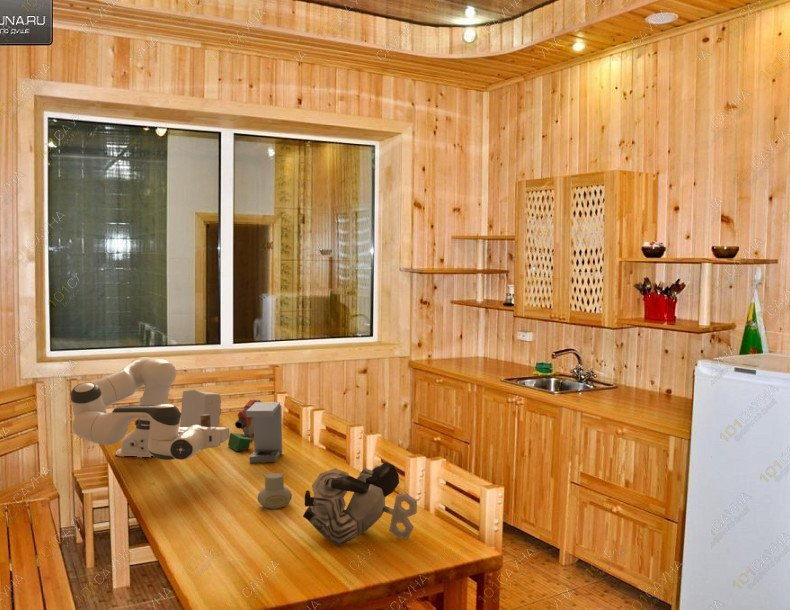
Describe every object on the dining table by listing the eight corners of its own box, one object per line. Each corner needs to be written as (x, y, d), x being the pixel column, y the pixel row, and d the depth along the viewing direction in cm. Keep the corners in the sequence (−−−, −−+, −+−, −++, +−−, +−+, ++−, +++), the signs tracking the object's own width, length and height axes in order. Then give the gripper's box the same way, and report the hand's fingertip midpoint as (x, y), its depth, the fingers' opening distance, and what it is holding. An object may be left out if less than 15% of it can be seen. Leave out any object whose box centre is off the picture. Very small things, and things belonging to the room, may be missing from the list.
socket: (249, 463, 286) (249, 456, 286) (255, 455, 296) (255, 449, 296) (275, 463, 286) (275, 456, 285) (279, 455, 296) (279, 449, 295)
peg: (199, 448, 275) (199, 416, 274) (202, 445, 279) (202, 414, 278) (209, 448, 275) (208, 416, 274) (212, 445, 278) (211, 414, 278)
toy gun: (238, 445, 325) (232, 415, 319) (258, 420, 342) (252, 392, 337) (246, 445, 324) (240, 416, 318) (266, 421, 341) (260, 393, 336)
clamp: (247, 460, 306) (254, 442, 303) (233, 459, 302) (241, 440, 300) (239, 443, 315) (247, 425, 313) (226, 442, 312) (233, 424, 309)
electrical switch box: (226, 433, 341) (229, 390, 342) (202, 436, 329) (205, 391, 330) (203, 430, 349) (207, 387, 350) (179, 432, 337) (183, 388, 338)
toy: (290, 524, 219) (364, 470, 237) (360, 592, 202) (434, 529, 219) (285, 476, 207) (364, 423, 224) (359, 544, 189) (438, 481, 207)
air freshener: (258, 512, 232) (258, 481, 231) (256, 503, 240) (255, 473, 239) (293, 508, 235) (292, 477, 234) (290, 500, 243) (289, 470, 242)
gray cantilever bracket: (246, 465, 283) (245, 411, 281) (255, 453, 299) (254, 402, 297) (275, 465, 283) (273, 410, 281) (282, 453, 299) (281, 402, 297)
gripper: (166, 446, 264) (179, 436, 278) (223, 446, 263) (233, 437, 277) (166, 429, 264) (178, 420, 277) (222, 429, 263) (232, 420, 277)
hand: (206, 428), depth 277 cm, fingers closed on peg, 4 cm apart
